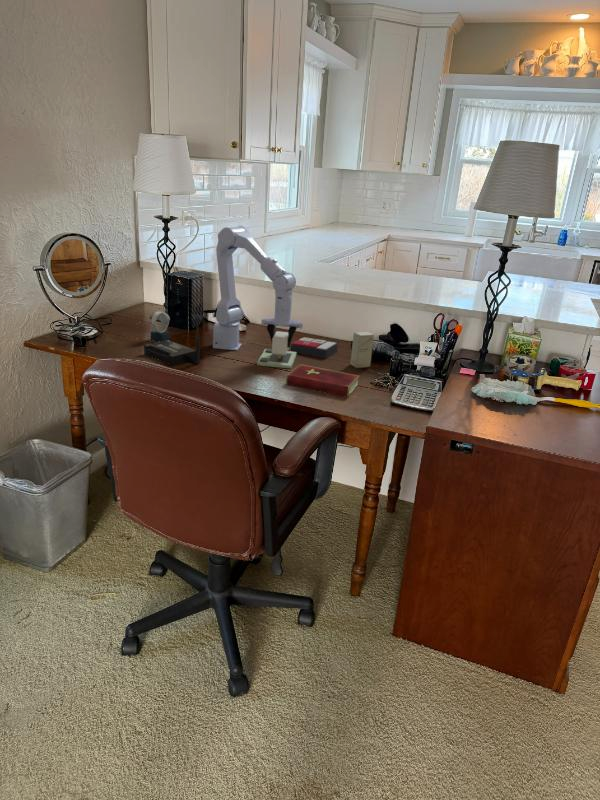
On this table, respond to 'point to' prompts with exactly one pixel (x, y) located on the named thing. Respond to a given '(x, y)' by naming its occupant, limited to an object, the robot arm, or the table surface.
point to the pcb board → (277, 359)
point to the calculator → (314, 347)
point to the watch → (161, 334)
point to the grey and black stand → (173, 351)
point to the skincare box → (362, 349)
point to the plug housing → (280, 343)
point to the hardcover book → (322, 380)
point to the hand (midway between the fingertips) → (281, 346)
